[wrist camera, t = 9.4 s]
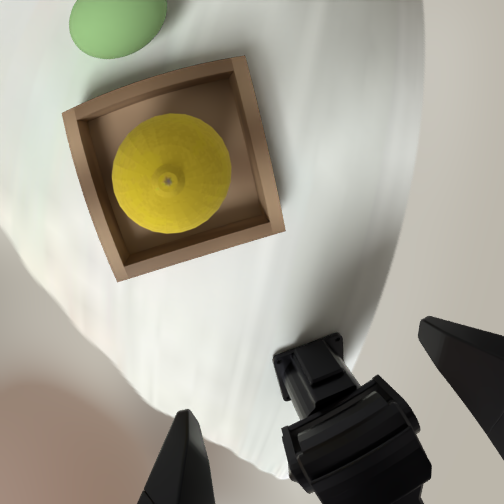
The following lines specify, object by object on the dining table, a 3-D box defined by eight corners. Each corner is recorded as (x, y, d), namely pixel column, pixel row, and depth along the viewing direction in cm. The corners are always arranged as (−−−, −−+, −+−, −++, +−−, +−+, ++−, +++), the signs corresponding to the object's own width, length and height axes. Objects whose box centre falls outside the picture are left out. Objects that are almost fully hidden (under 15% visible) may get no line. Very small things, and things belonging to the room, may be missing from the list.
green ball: (176, 52, 14) (173, 17, 9) (91, 81, 14) (58, 60, 9) (161, -11, 12) (157, -56, 7) (82, 16, 11) (53, -18, 6)
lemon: (235, 180, 18) (275, 207, 10) (159, 227, 18) (147, 286, 10) (191, 104, 15) (199, 71, 8) (112, 154, 15) (62, 163, 8)
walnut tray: (273, 220, 20) (285, 230, 17) (124, 265, 18) (117, 282, 16) (237, 66, 15) (245, 55, 13) (76, 116, 14) (61, 113, 12)
